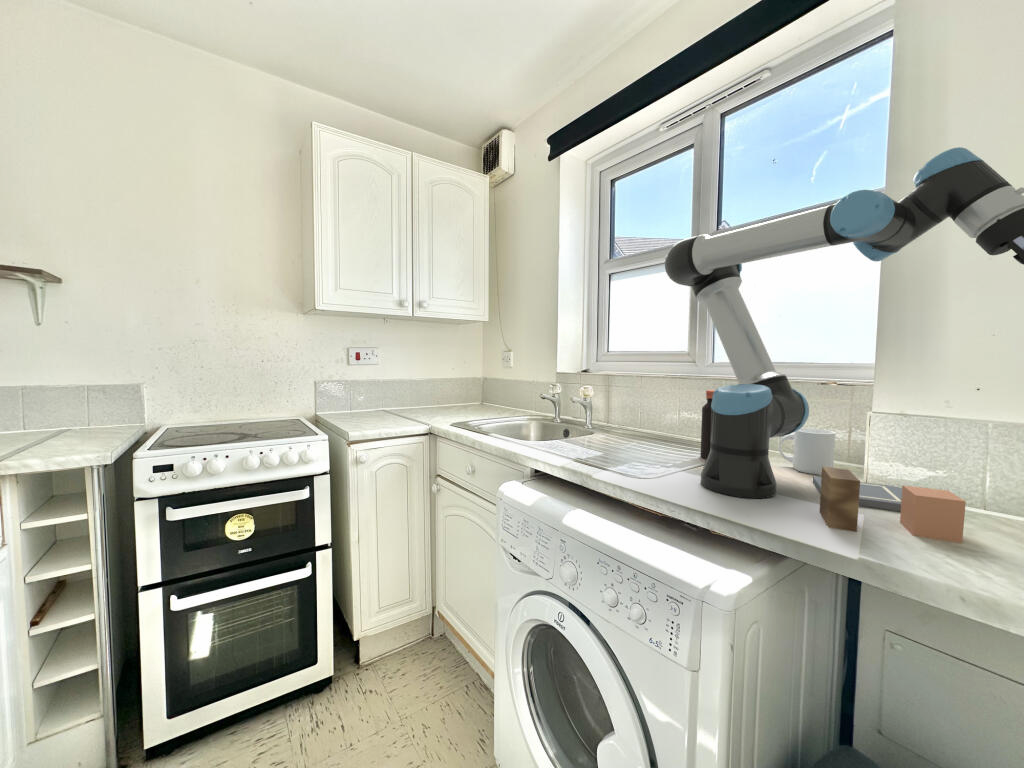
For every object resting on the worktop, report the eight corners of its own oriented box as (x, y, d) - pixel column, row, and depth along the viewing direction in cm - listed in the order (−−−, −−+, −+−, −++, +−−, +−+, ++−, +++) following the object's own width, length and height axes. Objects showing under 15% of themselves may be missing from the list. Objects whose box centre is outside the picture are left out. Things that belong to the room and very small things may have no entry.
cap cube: (912, 535, 69) (915, 495, 69) (899, 522, 74) (902, 485, 74) (962, 543, 66) (965, 501, 66) (945, 529, 71) (948, 490, 71)
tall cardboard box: (827, 527, 72) (830, 477, 71) (819, 512, 79) (822, 466, 78) (856, 532, 70) (860, 481, 70) (845, 516, 77) (848, 469, 77)
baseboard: (824, 500, 85) (824, 493, 85) (812, 482, 97) (813, 476, 97) (943, 517, 77) (943, 509, 77) (914, 495, 89) (914, 488, 89)
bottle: (727, 462, 116) (730, 392, 114) (700, 459, 118) (703, 391, 117) (724, 456, 122) (727, 390, 121) (699, 454, 125) (702, 389, 123)
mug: (782, 462, 116) (784, 425, 115) (835, 470, 108) (837, 430, 107) (774, 468, 110) (776, 428, 109) (829, 477, 102) (832, 435, 101)
